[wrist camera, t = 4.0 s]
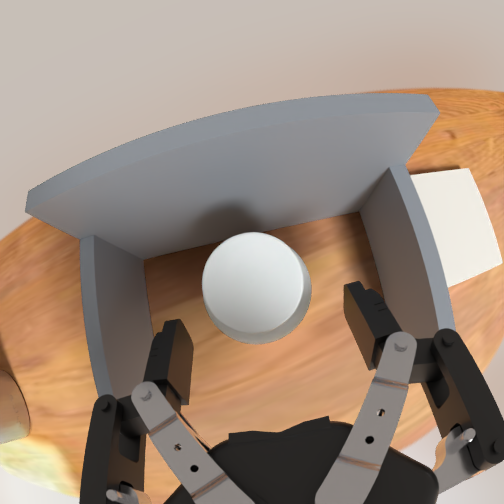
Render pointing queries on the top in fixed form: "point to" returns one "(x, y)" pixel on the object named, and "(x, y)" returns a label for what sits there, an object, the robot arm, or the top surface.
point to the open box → (245, 207)
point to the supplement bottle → (256, 288)
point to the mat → (458, 223)
